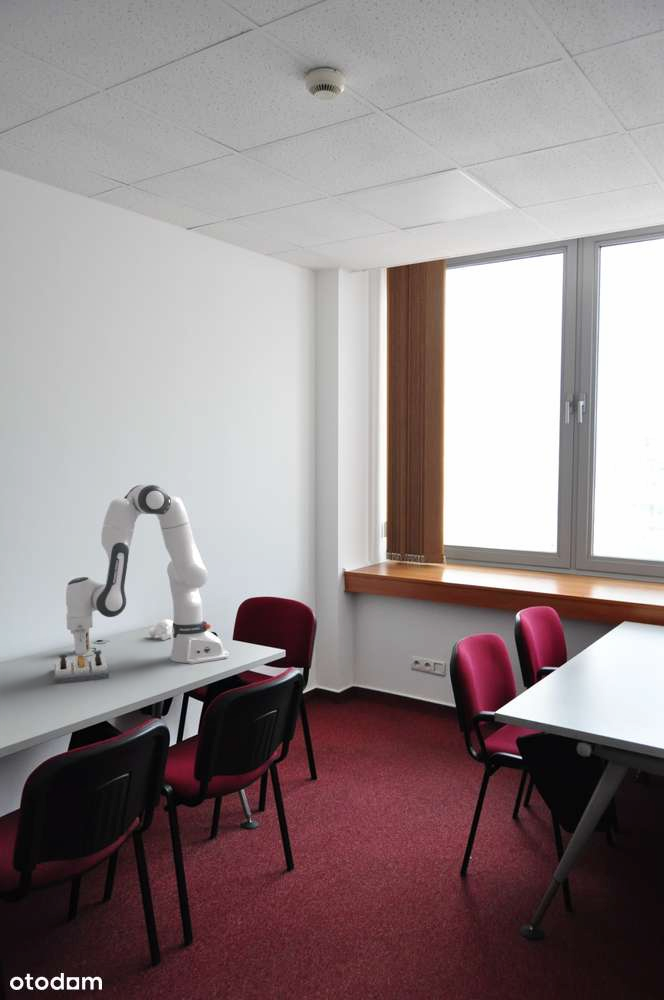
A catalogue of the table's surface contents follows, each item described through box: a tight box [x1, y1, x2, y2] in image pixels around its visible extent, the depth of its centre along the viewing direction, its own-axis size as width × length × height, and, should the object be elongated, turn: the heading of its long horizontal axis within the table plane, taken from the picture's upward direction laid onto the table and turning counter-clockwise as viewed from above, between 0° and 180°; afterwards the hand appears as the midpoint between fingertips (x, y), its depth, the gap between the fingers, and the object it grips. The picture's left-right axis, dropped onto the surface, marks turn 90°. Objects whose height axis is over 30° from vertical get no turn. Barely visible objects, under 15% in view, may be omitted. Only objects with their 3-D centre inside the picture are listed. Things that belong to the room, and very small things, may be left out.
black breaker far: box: [59, 653, 67, 668], centre depth 269 cm, size 2×2×5 cm
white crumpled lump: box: [148, 618, 174, 641], centre depth 320 cm, size 6×8×12 cm
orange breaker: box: [76, 656, 86, 667], centre depth 264 cm, size 2×2×5 cm
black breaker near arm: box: [93, 649, 102, 664], centre depth 273 cm, size 2×2×5 cm
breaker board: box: [54, 655, 110, 685], centre depth 268 cm, size 19×18×4 cm
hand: (80, 661), depth 266 cm, fingers closed
